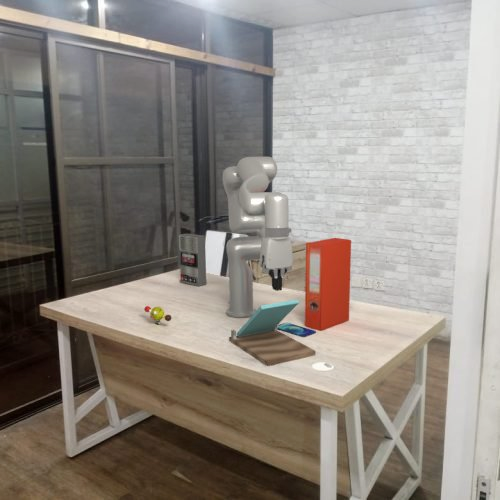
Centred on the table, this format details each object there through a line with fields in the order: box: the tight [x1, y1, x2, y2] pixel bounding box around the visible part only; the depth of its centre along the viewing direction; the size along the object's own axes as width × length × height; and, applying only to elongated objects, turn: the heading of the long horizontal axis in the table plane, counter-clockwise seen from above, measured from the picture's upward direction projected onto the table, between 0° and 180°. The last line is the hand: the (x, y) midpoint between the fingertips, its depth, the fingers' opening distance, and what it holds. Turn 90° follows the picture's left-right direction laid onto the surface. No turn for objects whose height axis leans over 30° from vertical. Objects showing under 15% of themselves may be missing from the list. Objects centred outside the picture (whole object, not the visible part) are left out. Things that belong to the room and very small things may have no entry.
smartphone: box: [277, 322, 317, 338], centre depth 193 cm, size 8×1×15 cm
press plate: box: [236, 299, 300, 337], centre depth 176 cm, size 23×14×1 cm
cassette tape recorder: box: [178, 233, 208, 287], centre depth 265 cm, size 14×6×25 cm, turn 50°
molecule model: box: [144, 305, 172, 326], centre depth 202 cm, size 18×6×7 cm, turn 40°
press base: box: [228, 326, 316, 367], centre depth 175 cm, size 26×18×4 cm
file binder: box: [304, 237, 352, 332], centre depth 197 cm, size 8×17×32 cm, turn 134°
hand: (277, 289), depth 168 cm, fingers closed
